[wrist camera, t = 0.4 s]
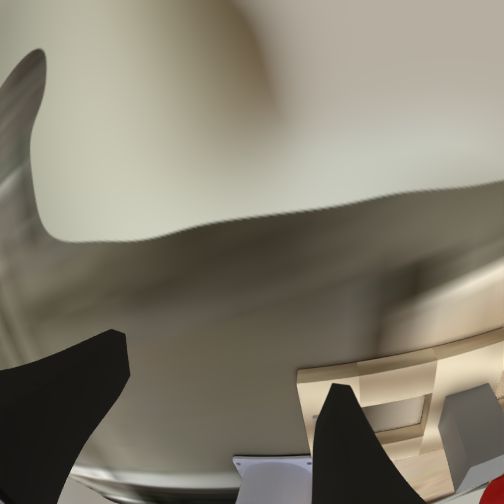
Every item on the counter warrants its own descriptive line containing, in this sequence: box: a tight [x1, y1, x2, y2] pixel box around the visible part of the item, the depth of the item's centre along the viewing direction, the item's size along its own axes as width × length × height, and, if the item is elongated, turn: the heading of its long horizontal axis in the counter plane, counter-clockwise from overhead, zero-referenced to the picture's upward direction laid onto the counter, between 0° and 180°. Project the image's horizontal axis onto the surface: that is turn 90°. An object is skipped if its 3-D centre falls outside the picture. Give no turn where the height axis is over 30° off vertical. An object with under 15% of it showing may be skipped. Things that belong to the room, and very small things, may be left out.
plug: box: [438, 383, 504, 493], centre depth 15 cm, size 4×4×7 cm
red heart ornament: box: [479, 472, 504, 504], centre depth 17 cm, size 9×7×10 cm
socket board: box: [297, 327, 504, 461], centre depth 18 cm, size 12×26×2 cm, turn 103°
